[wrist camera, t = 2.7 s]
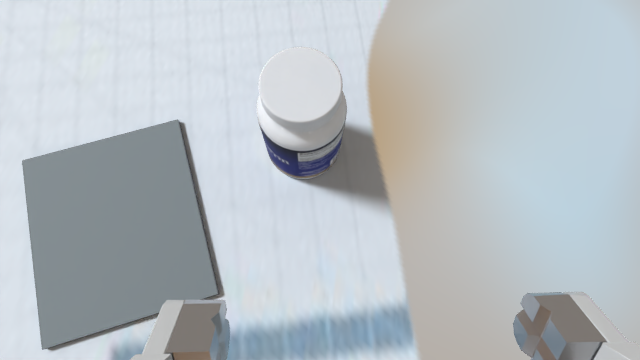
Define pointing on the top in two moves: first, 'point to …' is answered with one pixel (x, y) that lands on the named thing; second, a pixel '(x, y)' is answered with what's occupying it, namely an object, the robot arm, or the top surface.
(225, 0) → the top surface
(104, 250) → the mat
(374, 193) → the top surface
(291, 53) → the pill bottle
